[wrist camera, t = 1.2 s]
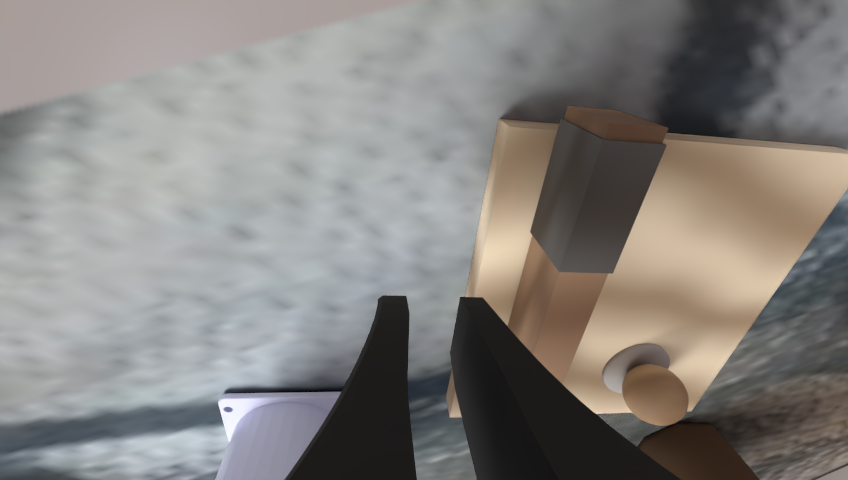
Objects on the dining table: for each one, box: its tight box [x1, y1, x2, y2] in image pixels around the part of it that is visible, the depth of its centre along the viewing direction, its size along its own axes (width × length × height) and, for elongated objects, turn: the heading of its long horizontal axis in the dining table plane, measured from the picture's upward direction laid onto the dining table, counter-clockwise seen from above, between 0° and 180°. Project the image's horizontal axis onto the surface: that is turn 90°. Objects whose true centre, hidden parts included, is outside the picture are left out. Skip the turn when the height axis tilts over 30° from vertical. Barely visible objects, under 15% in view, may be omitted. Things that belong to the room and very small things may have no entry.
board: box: [446, 119, 848, 426], centre depth 19 cm, size 18×17×5 cm
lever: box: [508, 106, 668, 384], centre depth 17 cm, size 18×3×3 cm, turn 174°
